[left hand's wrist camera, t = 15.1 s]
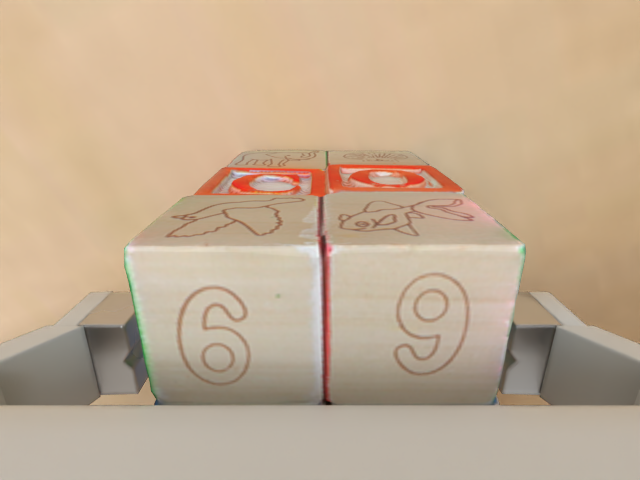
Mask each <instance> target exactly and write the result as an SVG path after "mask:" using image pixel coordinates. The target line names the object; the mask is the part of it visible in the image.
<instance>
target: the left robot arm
mask: <svg viewBox="0 0 640 480" xmlns="http://www.w3.org/2000/svg"><path fill="white" fill-rule="evenodd" d="M147 378H148V374H147V370H146V366H145V361H144V357H143V351H142V345H141V339H140V334H139V330H138V325H137V320H136V316H135V311H134V306H133V301H132V296H131V292H113V291H112V292H90V293H89V294H88V295H87V296H86V297H85V298H84V299H83V300H82V301H80V302H79V303H78V304H77V305H76V306H75V307H74V308H73V309H71V310H70V311H69V312H68V313H67V314H66V315H65V316H64V317H62V318H61V319H60V320H59V321H58V322H57V323H56V324H55V325H53V326H44V327H42V328H39V329H37V330H34V331H32V332H29V333H27V334H24V335H22V336H19V337H16V338H14V339H11V340H9V341H6V342H4V343H1V344H0V480H640V344H639V343H636V342H634V341H631V340H629V339H626V338H623V337H621V336H618V335H616V334H613V333H611V332H608V331H606V330H603V329H601V328H598V327H596V326H587V325H585V324H584V323H583V322H582V321H581V320H580V319H579V318H578V317H577V316H575V315H574V314H573V313H572V312H571V311H570V310H569V309H568V308H566V307H565V306H564V305H563V304H562V303H561V302H560V301H559V300H557V299H556V298H555V297H554V296H553V295H552V294H551V293H549V292H545V291H543V292H518V295H517V298H516V302H515V312H514V318H513V322H512V326H511V330H510V334H509V338H508V343H507V349H506V355H505V361H504V365H503V370H502V375H501V379H500V384H499V390H500V391H501V393H502V394H529V395H540V397H541V398H542V399H544V400H545V401H546V402H548V403H549V404H551V405H90V404H91V403H92V402H94V401H95V400H96V399H98V398H99V397H100V395H111V394H138V393H139V391H140V390H141V388H142V386H143V385H144V383H145V381H146V380H147Z"/></svg>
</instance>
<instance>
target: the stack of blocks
mask: <svg viewBox="0 0 640 480" xmlns="http://www.w3.org/2000/svg"><path fill="white" fill-rule="evenodd" d="M525 255H526V249H525V244H524V243H523V242H521V241H520V240H519V239H518V238H517V237H515V236H514V235H513V234H512V233H511V232H509V231H508V230H507V229H506V228H505V227H504V226H502V225H501V224H500V223H499V222H497V221H496V220H495V219H494V218H493V217H491V216H490V215H489V214H487V213H486V212H485V211H484V210H482V209H481V208H480V207H479V206H478V205H477V204H476V203H474V202H473V201H472V200H470V199H468V198H467V197H466V196H465V195H464V190H463V189H462V188H461V187H460V186H458V185H457V184H456V183H454V182H453V181H452V180H450V179H449V178H448V177H446V176H445V175H443V174H442V173H441V172H439V171H438V170H437V169H435V168H434V167H431V166H429V164H427V163H426V162H424V161H422V160H421V159H420V158H418V157H417V156H415V155H414V154H413V153H411V152H409V151H318V150H262V151H246V152H243V153H241V154H240V155H238V156H237V157H236V158H235V159H234V160H233V161H232V162H231V163H230V164H229V165H228V166H227V167H225V168H222V169H221V170H219V171H218V172H217V173H216V174H215V175H214V176H213V177H212V178H211V179H210V180H208V181H207V182H206V183H205V184H204V185H203V186H202V187H201V188H200V189H199V190H198V191H197V192H196V193H195V194H194V195H193V196H187V197H184V198H181V199H180V200H179V201H178V202H177V203H176V204H175V205H173V206H172V207H171V208H170V209H169V210H167V211H166V212H165V213H164V214H162V215H161V216H160V217H159V218H157V219H156V220H155V221H154V222H153V223H152V224H150V225H149V226H148V227H147V228H145V229H144V230H143V231H142V232H140V233H139V234H138V235H137V236H136V237H134V238H133V239H132V240H131V241H130V242H129V243H128V245H127V246H126V247H125V248H124V266H125V270H126V274H127V278H128V281H129V286H130V291H131V296H132V301H133V306H134V311H135V316H136V320H137V325H138V330H139V334H140V339H141V345H142V351H143V357H144V361H145V366H146V370H147V374H148V377H149V381H150V387H151V392H152V393H153V395H154V396H155V398H156V401H155V404H154V405H500V404H499V401H498V398H497V396H496V395H497V392H498V388H499V384H500V379H501V375H502V370H503V365H504V361H505V355H506V349H507V343H508V338H509V334H510V330H511V326H512V322H513V318H514V312H515V302H516V298H517V295H518V291H519V286H520V281H521V276H522V271H523V266H524V262H525Z"/></svg>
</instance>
